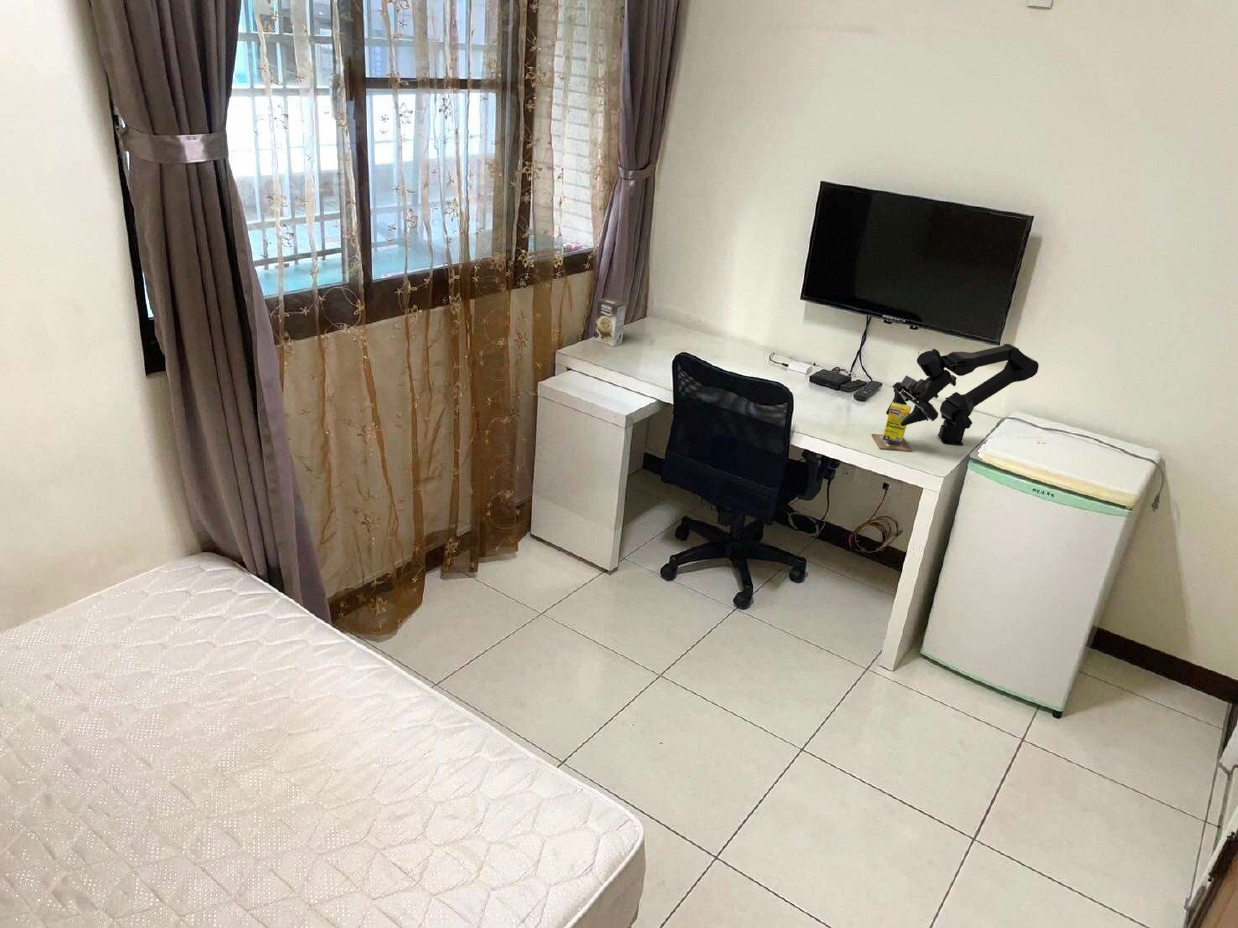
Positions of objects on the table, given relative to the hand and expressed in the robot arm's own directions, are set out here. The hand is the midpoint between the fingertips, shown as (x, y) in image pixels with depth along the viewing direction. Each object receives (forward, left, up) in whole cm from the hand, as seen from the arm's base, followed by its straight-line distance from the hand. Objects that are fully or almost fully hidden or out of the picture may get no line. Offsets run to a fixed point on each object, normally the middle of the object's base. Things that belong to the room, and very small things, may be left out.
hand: (893, 419), depth 275 cm
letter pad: (-1, 0, -8) cm, 8 cm away
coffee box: (+89, -72, -9) cm, 115 cm away
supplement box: (-1, 0, -7) cm, 7 cm away
